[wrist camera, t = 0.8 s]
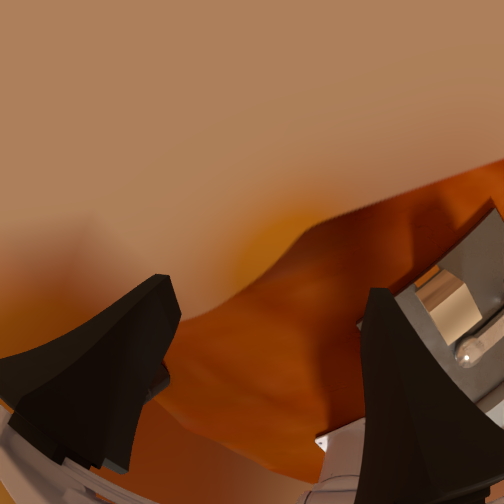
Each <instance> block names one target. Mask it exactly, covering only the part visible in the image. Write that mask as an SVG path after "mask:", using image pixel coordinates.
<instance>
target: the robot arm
mask: <svg viewBox="0 0 504 504" xmlns="http://www.w3.org/2000/svg"><path fill="white" fill-rule="evenodd" d="M180 318H181V311H180V308H179V305H178V302H177V299H176V296H175V292H174V289H173V286H172V283H171V279H170V276H169V275H162V274H155V275H153V276H151V277H150V278H148V279H147V280H146V281H144V282H142V283H141V284H140V285H138V286H137V287H136V288H134V289H133V290H132V291H130V292H129V293H127V294H126V295H124V296H123V297H122V298H120V299H119V300H118V301H116V302H115V303H114V304H112V305H111V306H109V307H108V308H106V309H105V310H103V311H102V312H100V313H99V314H98V315H96V316H95V317H93V318H92V319H90V320H89V321H87V322H86V323H84V324H82V325H81V326H79V327H77V328H75V329H74V330H72V331H70V332H68V333H67V334H65V335H63V336H61V337H59V338H57V339H55V340H52V341H50V342H48V343H46V344H44V345H42V346H39V347H37V348H34V349H31V350H29V351H26V352H23V353H20V354H16V355H13V356H9V357H6V358H2V359H0V398H1V399H2V400H3V401H4V402H5V403H6V404H7V405H8V406H9V407H11V408H12V409H13V410H14V413H13V414H10V413H9V412H8V411H7V410H6V409H5V408H4V407H3V406H2V405H1V404H0V480H1V482H2V483H3V485H4V486H5V488H6V489H7V491H8V492H9V494H10V495H11V497H12V498H13V500H14V501H15V502H16V504H112V503H109V502H107V501H104V500H102V499H100V498H97V497H96V493H98V494H100V495H102V496H103V497H105V498H107V499H109V500H111V501H113V502H114V503H116V504H159V503H156V502H154V501H151V500H148V499H146V498H144V497H141V496H139V495H137V494H134V493H132V492H130V491H128V490H126V489H123V488H121V487H119V486H117V485H115V484H113V483H111V482H109V481H107V480H105V479H103V478H102V477H100V476H98V475H96V474H94V473H93V472H91V471H89V469H90V467H91V465H92V466H93V467H95V468H97V469H100V468H101V466H104V467H106V468H108V469H110V470H112V471H114V472H117V473H119V474H125V473H127V472H128V471H129V463H130V456H131V451H132V445H133V441H134V436H135V432H136V428H137V424H138V420H139V417H140V413H141V410H142V407H143V404H144V401H145V398H146V395H147V392H148V390H149V387H150V385H151V383H152V380H153V378H154V376H155V374H156V372H157V370H158V368H159V366H160V364H161V362H162V360H163V358H164V356H165V354H166V352H167V350H168V348H169V346H170V344H171V342H172V340H173V338H174V335H175V333H176V330H177V327H178V324H179V321H180ZM361 364H362V374H363V385H364V397H365V418H361V419H359V420H357V421H355V422H352V423H350V424H348V425H346V426H344V427H341V428H339V429H337V430H334V431H332V432H330V433H327V434H325V435H322V436H320V437H317V438H316V439H315V442H316V443H317V444H318V445H319V446H320V447H321V448H322V449H323V450H324V451H325V452H326V454H325V458H324V462H323V467H322V471H321V475H320V478H319V482H318V483H316V484H314V485H313V489H312V491H305V492H304V493H303V494H302V495H301V496H300V497H299V498H298V500H297V503H296V504H504V496H503V497H500V498H498V499H496V500H494V501H491V502H489V503H485V498H486V497H488V496H489V495H490V486H492V485H494V484H496V483H498V482H500V481H502V480H504V429H502V428H501V427H500V426H499V425H497V424H496V423H495V422H494V421H493V420H492V419H490V418H489V417H488V416H487V415H486V414H485V413H484V412H483V411H482V410H481V409H479V408H478V407H477V406H476V405H475V404H474V403H473V402H472V401H471V399H470V398H469V397H468V396H467V395H466V394H465V393H464V392H463V391H462V390H461V389H460V388H459V387H458V386H457V385H456V384H455V382H454V381H453V380H452V379H451V378H450V377H449V375H448V374H447V373H446V372H445V370H444V369H443V368H442V367H441V366H440V364H439V363H438V362H437V360H436V359H435V358H434V356H433V355H432V354H431V352H430V351H429V349H428V348H427V347H426V345H425V344H424V342H423V341H422V340H421V338H420V337H419V335H418V334H417V332H416V331H415V329H414V328H413V326H412V325H411V323H410V322H409V320H408V319H407V317H406V316H405V314H404V312H403V311H402V309H401V308H400V306H399V305H398V303H397V301H396V300H395V298H394V297H393V295H392V294H391V292H390V291H389V289H388V288H370V293H369V297H368V302H367V306H366V310H365V314H364V318H363V322H362V326H361ZM364 423H365V424H364ZM320 442H322V443H320ZM95 492H96V493H95Z"/></svg>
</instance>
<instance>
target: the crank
mask: <svg viewBox="0 0 504 504" xmlns="http://www.w3.org/2000/svg"><path fill="white" fill-rule="evenodd" d="M503 336H504V309H503V310H502V311H501V312H500V313H499V314H498V315H497V316H496V317H495V318H493V319H492V320H491V321H490V322H489V323H488V324H487V325H486V326H485V327H483V328H482V329H481V330H480V331H479V332H478V333H476V334H475V335H471V336H468V337H466V338H464V339H463V340H462V341H461V342H460V343H459V344H458V346H457V348H456V351H455V358H456V360H457V362H458V364H459V365H460V366H461V367H463V368H470V367H473V366H474V365H476V364H477V363H478V362H479V361H480V360H481V358H482V356H483V354H484V353H485V352H486V351H487V350H488V349H490V348H491V347H492V346H493V345H494V344H495V343H496V342H498V341H499V340H500V339H501V338H502V337H503Z"/></svg>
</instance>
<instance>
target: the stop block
mask: <svg viewBox="0 0 504 504" xmlns="http://www.w3.org/2000/svg"><path fill="white" fill-rule="evenodd" d="M416 295H417V297H418V298H419V300H420V301H421V303H422V304H423V306H424V308H425V309H426V311H427V313H428V314H429V316H430V318H431V319H432V321H433V323H434V324H435V326H436V327H437V329H438V330H439V332H440V334H441V335H442V337H443V338H444V340H445V342H446V343H447V345H448V346H449V345H450V344H451V343H453V342H454V341H455V340H456V339H458V338H459V337H460V336H461V335H463V334H464V333H465V332H466V331H468V330H469V329H470V328H471V327H472V326H474V325H475V324H476V323H477V322H478V321H479V320H481V319H482V316H481V314H480V312H479V310H478V308H477V306H476V304H475V302H474V300H473V298H472V296H471V294H470V292H469V290H468V288H467V286H466V284H465V283H464V282H463V281H461V280H460V279H458V278H457V277H456V276H454V275H453V274H451V273H450V272H448V271H447V270H445V269H444V270H443V271H442V272H440V273H439V274H438V275H437V276H436V277H434V278H433V279H432V280H431V281H430V282H428V283H427V284H426V285H425V286H423V287H422V288H421V289H420V290H418V291H417V292H416Z"/></svg>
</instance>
